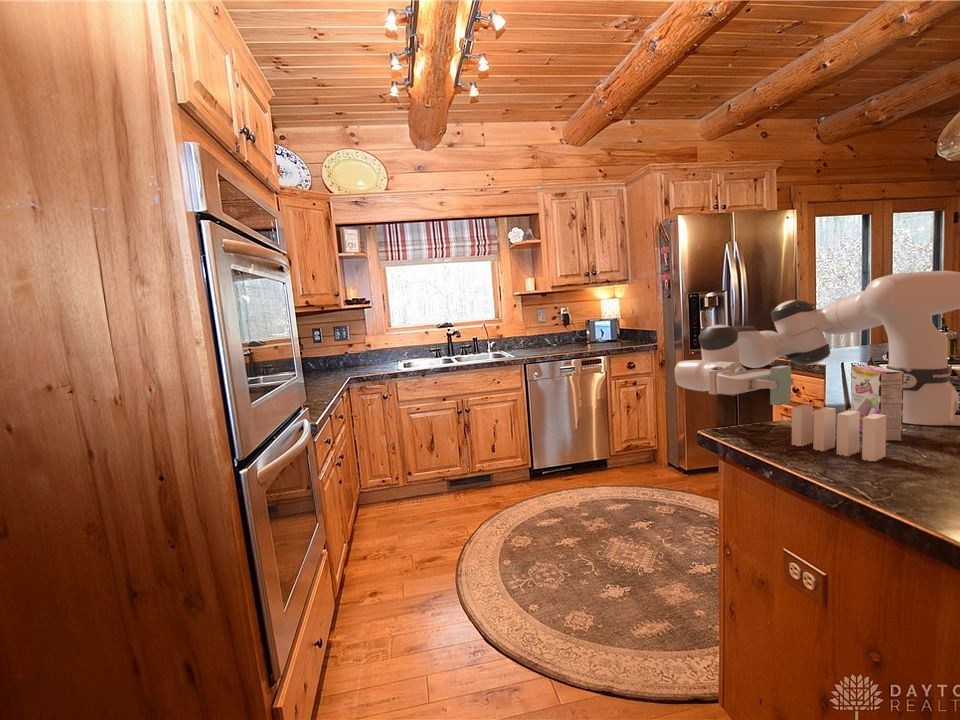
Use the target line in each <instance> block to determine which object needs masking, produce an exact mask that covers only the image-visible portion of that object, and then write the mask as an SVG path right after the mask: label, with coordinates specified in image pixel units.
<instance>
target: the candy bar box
mask: <svg viewBox="0 0 960 720" xmlns="http://www.w3.org/2000/svg"><path fill="white" fill-rule="evenodd" d="M886 368H887V367H886ZM886 368H885V367H882V366H876V365H855V366H851V367H850V376H851V377H850V411H858V412H860V432H859V434H862V435H863V417H866V416H869V415H872V414H881V415H886V442H902V441H903V423H902V422H903V379H904V372H901V371H896V370H891V369H886Z"/></svg>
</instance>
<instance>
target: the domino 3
mask: <svg viewBox="0 0 960 720" xmlns="http://www.w3.org/2000/svg"><path fill="white" fill-rule="evenodd" d="M836 411H837V409H836V407H835V408H834V407H828V406H827V407H826V406H825V407H822V408H821V407H820V408H818V409H813V443H812V444H813V446H812V447H813V449H812V450H814V449H815V450H814V451H818V450H820V451H819V452H823V451H824V452H825V451H828V449H829V450H832V449H833V448H835V447H836V419H837V417H836V416H837V415H836V413H837V412H836ZM831 448H832V449H831Z"/></svg>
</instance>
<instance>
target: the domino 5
mask: <svg viewBox="0 0 960 720" xmlns="http://www.w3.org/2000/svg"><path fill="white" fill-rule="evenodd" d="M886 442H887V441H886V415H881V414H872V415H869V416H866V417H863V434H862V442H861V443H862V446H861V447H862V448H861V451H862V452H861V460H862V459H863V461H866V460H868V461H867V462H871V461H875V462H877V460H878V461H880V460H882V459H884V458H883V457H885V458H886V448H887V447H886V444H887V443H886ZM881 458H882V459H881ZM879 459H880V460H879Z"/></svg>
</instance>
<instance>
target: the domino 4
mask: <svg viewBox="0 0 960 720" xmlns="http://www.w3.org/2000/svg"><path fill="white" fill-rule="evenodd" d="M836 416H837V417H836V420H837V421H836V455H838V454H839V456H842V455H844V456H843V457H847V456H848V457H850V456H852V454H853V455H856V454H857V452H858V453H860V412H858V411H851V409H850V410H849V409H848V410H845V411H843V412H840V413H837V415H836Z"/></svg>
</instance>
